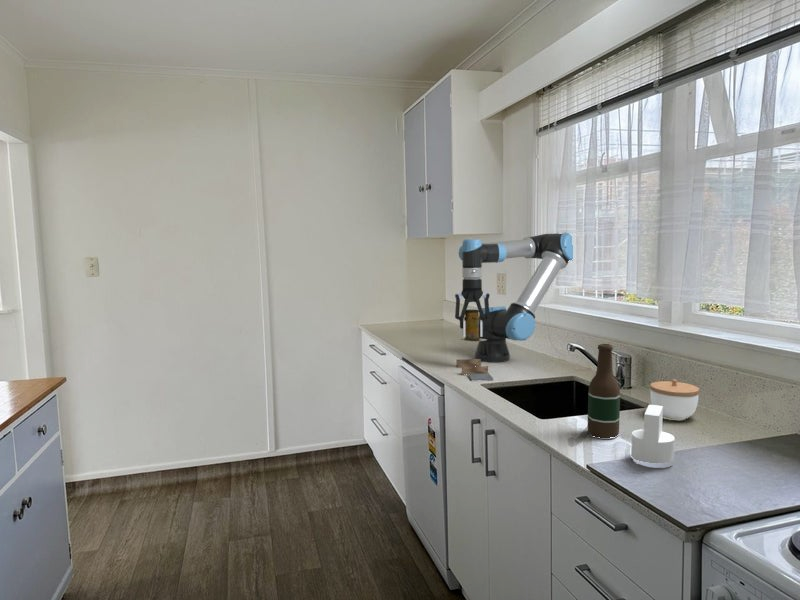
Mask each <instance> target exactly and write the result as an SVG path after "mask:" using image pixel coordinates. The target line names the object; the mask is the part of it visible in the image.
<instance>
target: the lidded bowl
mask: <svg viewBox="0 0 800 600" xmlns="http://www.w3.org/2000/svg"><path fill="white" fill-rule="evenodd" d="M649 389H650V402H651V405H658V406H663V417H666V418H670V419H686V418H687V419H688V418H690V417H692V415H693V414H695V412H696V410H697V408H698V404H699V395H700V388H699V387H698V386H696V385H693V384H691V383H686V382H679V381H678V379H673V378H672V380H671V381H668V380H667V381H666V380H665V381H664V380H663V381H662V380H661V381H654V382H652V383H650V385H649Z"/></svg>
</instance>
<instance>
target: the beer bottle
mask: <svg viewBox="0 0 800 600" xmlns="http://www.w3.org/2000/svg"><path fill="white" fill-rule="evenodd" d="M597 349H598V354H597V355H598V356H597V365H596V366H597V367H596V372H595V375H594V376H593V378H592V379H591V380H590V383H589V386H588V395H587V396H588V397H587V398H588V399H587V433H588V435H590V436H591V435H592V436H595V437H600V438H610V437H615V436H617V435H618V434H619V433H620V415H621V414H620V413H621V411H620V410H621V390H620V389H621V388H620V385H619V382H618V380H617V379H616V378H615V376H614V369H613V350H614V348H613V345H612V344H610V343H600V344H598V345H597ZM592 436H591V437H592ZM618 436H619V435H618ZM618 436H617V437H618ZM595 437H594V438H595Z"/></svg>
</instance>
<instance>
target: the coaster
mask: <svg viewBox="0 0 800 600" xmlns="http://www.w3.org/2000/svg"><path fill="white" fill-rule="evenodd" d="M467 377H468V378H469V377H470V378H469V379H470V381H471V380H490V381H494V377H493V376H492V375H491V374H490V373H489V372H488V373H485V374H468V375H467Z"/></svg>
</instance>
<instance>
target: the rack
mask: <svg viewBox="0 0 800 600" xmlns="http://www.w3.org/2000/svg"><path fill="white" fill-rule="evenodd" d="M456 366H457V367H456V368H461V376H468V374H485V373H489V366H483V365H482V361H481V359H475V358H474V359H473V358H469V359H468V358H467V359H465V358H464V359H462V358H460V359H456ZM475 366H476V367H475ZM464 374H465V375H464ZM466 374H467V375H466Z"/></svg>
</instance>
